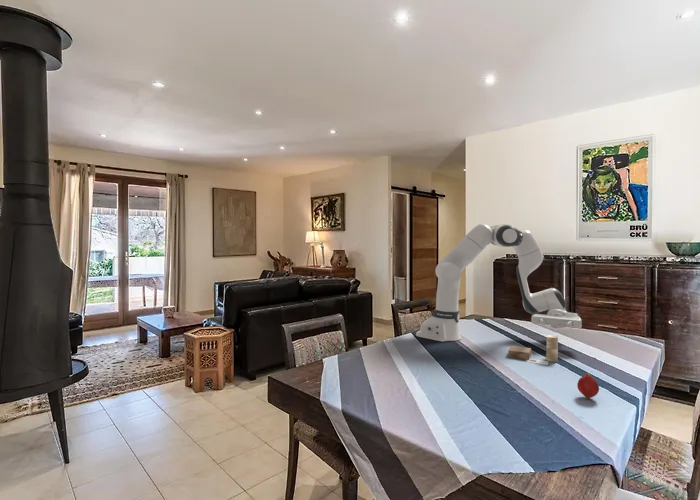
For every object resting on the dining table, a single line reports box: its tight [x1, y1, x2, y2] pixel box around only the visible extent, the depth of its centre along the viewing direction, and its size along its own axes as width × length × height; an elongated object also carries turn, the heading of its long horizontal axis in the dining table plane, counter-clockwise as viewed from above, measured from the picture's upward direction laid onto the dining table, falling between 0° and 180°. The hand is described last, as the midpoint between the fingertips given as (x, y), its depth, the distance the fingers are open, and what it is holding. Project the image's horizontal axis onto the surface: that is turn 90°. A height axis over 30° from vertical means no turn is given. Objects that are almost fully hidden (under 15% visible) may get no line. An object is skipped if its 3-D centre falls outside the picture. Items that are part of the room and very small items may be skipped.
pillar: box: [545, 334, 559, 363], centre depth 156 cm, size 4×4×10 cm
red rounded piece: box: [576, 373, 600, 399], centre depth 118 cm, size 6×6×8 cm
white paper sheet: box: [525, 358, 549, 366], centre depth 154 cm, size 8×5×1 cm, turn 59°
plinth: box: [508, 345, 532, 361], centre depth 161 cm, size 8×8×3 cm
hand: (555, 324), depth 166 cm, fingers open, 8 cm apart
